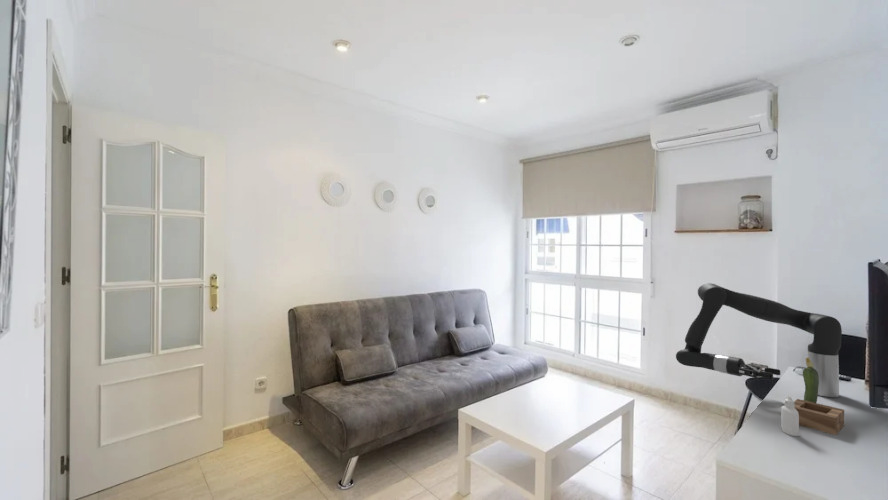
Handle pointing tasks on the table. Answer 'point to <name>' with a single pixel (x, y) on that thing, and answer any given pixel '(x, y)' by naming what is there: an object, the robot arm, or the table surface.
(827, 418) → the socket
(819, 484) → the table surface
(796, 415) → the eye dropper bottle
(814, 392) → the vegetable
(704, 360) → the robot arm
